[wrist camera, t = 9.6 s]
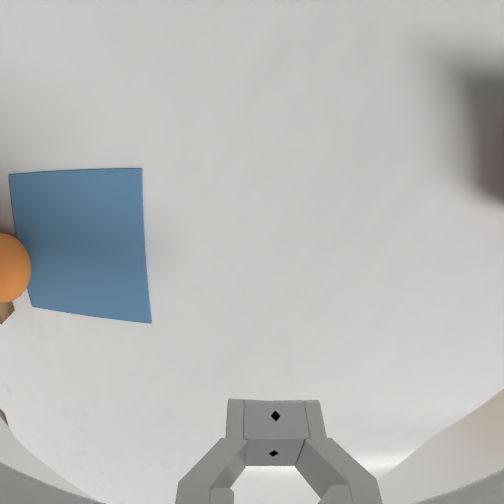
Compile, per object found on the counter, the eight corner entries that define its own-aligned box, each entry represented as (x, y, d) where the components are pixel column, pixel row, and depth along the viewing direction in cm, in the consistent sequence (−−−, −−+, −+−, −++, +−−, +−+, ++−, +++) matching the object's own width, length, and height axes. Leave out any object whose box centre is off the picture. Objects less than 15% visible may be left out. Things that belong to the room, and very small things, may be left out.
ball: (33, 225, 20) (3, 220, 21) (-23, 257, 15) (-45, 246, 17) (50, 288, 22) (19, 275, 24) (3, 324, 18) (-23, 304, 19)
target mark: (10, 174, 19) (8, 175, 19) (142, 168, 20) (141, 168, 20) (33, 305, 24) (32, 306, 24) (151, 321, 24) (151, 323, 24)
